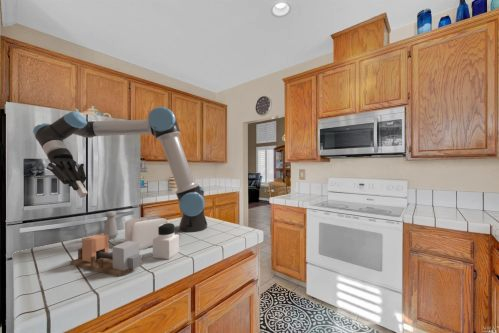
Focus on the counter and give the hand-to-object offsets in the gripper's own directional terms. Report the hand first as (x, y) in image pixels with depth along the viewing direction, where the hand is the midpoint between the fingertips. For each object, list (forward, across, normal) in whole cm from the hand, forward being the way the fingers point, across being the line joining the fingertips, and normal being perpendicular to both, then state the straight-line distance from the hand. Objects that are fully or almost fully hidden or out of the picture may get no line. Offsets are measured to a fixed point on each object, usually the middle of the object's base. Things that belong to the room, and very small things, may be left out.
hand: (84, 195), depth 84 cm
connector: (+35, +3, +5) cm, 36 cm away
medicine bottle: (+39, -10, +6) cm, 41 cm away
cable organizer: (+28, -16, -5) cm, 33 cm away
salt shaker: (+12, -17, -22) cm, 30 cm away
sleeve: (+24, +3, -7) cm, 25 cm away
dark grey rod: (+25, +3, -4) cm, 26 cm away
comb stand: (+29, +3, -4) cm, 29 cm away
